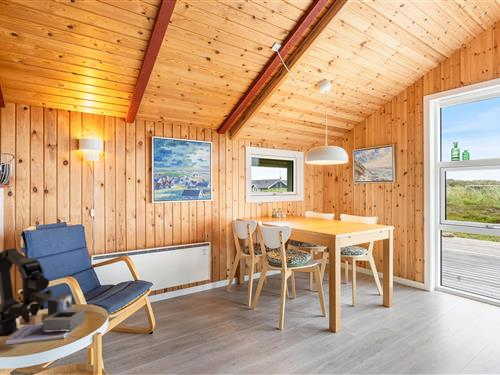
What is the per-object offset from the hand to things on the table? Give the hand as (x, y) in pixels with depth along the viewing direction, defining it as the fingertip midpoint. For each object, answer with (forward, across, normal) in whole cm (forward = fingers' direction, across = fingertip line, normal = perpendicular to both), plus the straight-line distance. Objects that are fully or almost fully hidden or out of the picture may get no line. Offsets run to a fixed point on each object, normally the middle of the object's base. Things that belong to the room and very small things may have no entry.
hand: (30, 320), depth 134 cm
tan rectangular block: (+1, 0, 0) cm, 1 cm away
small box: (+10, +29, +6) cm, 31 cm away
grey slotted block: (+10, +15, -6) cm, 19 cm away
